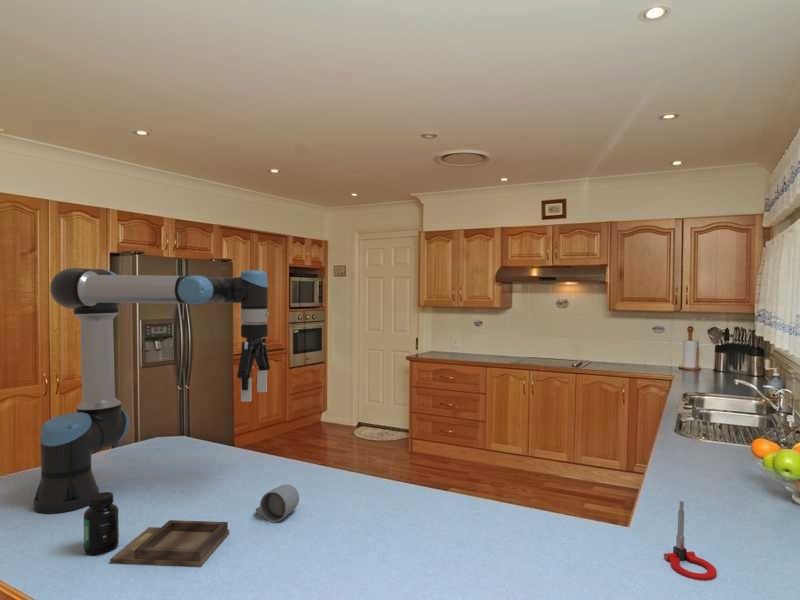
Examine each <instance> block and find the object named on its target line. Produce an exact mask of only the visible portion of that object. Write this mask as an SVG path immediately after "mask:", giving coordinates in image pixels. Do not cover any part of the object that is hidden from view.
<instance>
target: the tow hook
mask: <svg viewBox="0 0 800 600" xmlns="http://www.w3.org/2000/svg"><path fill="white" fill-rule="evenodd" d="M684 504H685V502H684V501H683V500H682V501H681V500H680V501H679V509H678V511H677V533H676V537H675V538H676V542H675V546H674V545H673V549H672V550H673V551H672V552H668V553H667V552H665V553H663V559H664V560H665V561H669V562H670V567H671V568H672V569H673V570H674V571H675V572H677V573H678V574H680V575H681V576H683V577H685V578H688V579H692V580H697V581H712V580H715V579H716V578H717V575H718V570H717V568H716V567H715V566H714V565H713V564H712V563H711V562H709V561H707V560H706V559H704V558H700V557H698V556H696V553H695V551H687V548H686V547H685V536H684V531H685V511H684V507H685V506H684ZM686 560H688V561H689V562H690V563H694V564H697V565H700V566H702V567H704V569H706V570H707V571H706V572H703V573H702V572H701V573H699V572H695V571H694V572H693V571H691V570H687V568H686V569H685V568H684V567H682V566H681V565H680V562H681V561H686Z"/></svg>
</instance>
